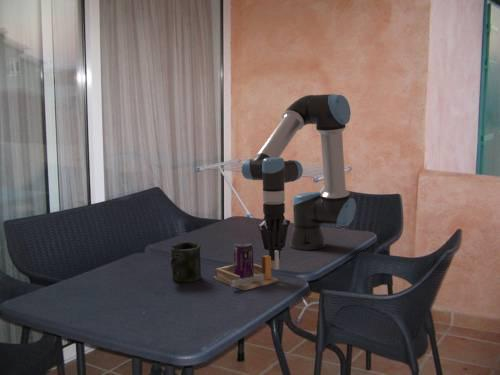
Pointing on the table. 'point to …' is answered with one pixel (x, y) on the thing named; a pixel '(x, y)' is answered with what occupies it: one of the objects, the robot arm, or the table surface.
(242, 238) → the table surface
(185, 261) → the mug
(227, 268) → the wooden tray
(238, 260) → the beverage can
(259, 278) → the lock bar
